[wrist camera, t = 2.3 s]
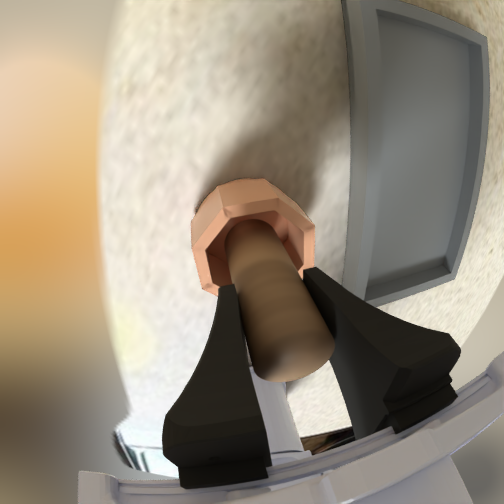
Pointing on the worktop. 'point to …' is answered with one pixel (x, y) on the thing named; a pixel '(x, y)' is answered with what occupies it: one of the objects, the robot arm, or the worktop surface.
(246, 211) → the cup
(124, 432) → the worktop surface
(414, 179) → the tray
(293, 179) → the worktop surface
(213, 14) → the worktop surface
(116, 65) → the worktop surface
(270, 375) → the pin
